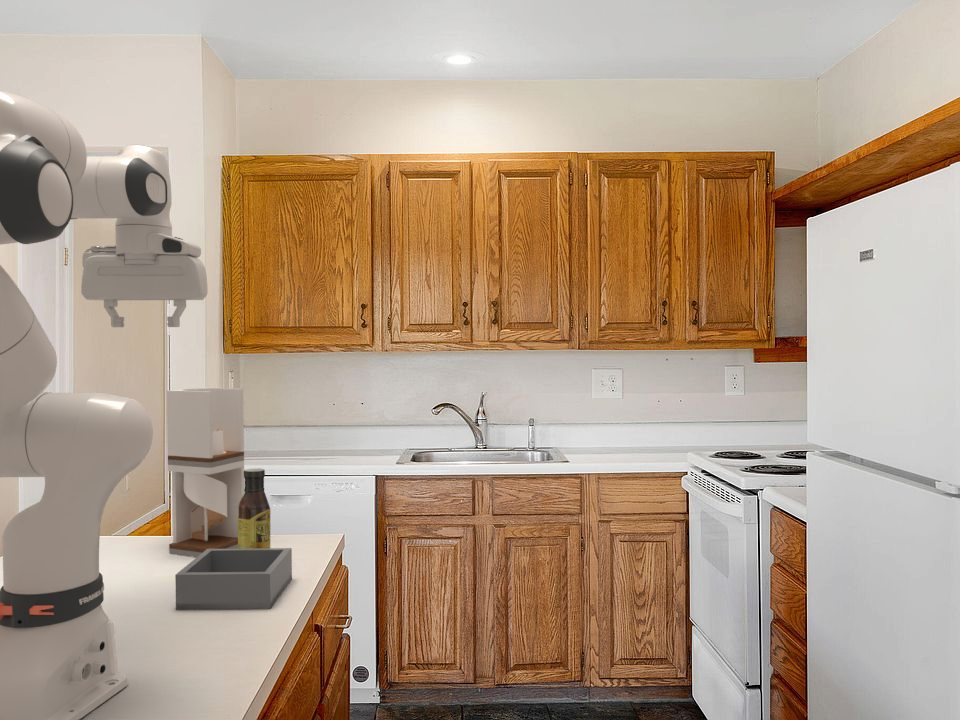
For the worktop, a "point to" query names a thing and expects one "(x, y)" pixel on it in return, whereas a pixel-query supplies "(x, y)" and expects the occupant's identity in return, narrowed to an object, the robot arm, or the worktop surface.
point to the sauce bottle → (254, 512)
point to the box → (234, 579)
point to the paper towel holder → (205, 467)
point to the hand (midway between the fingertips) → (145, 327)
